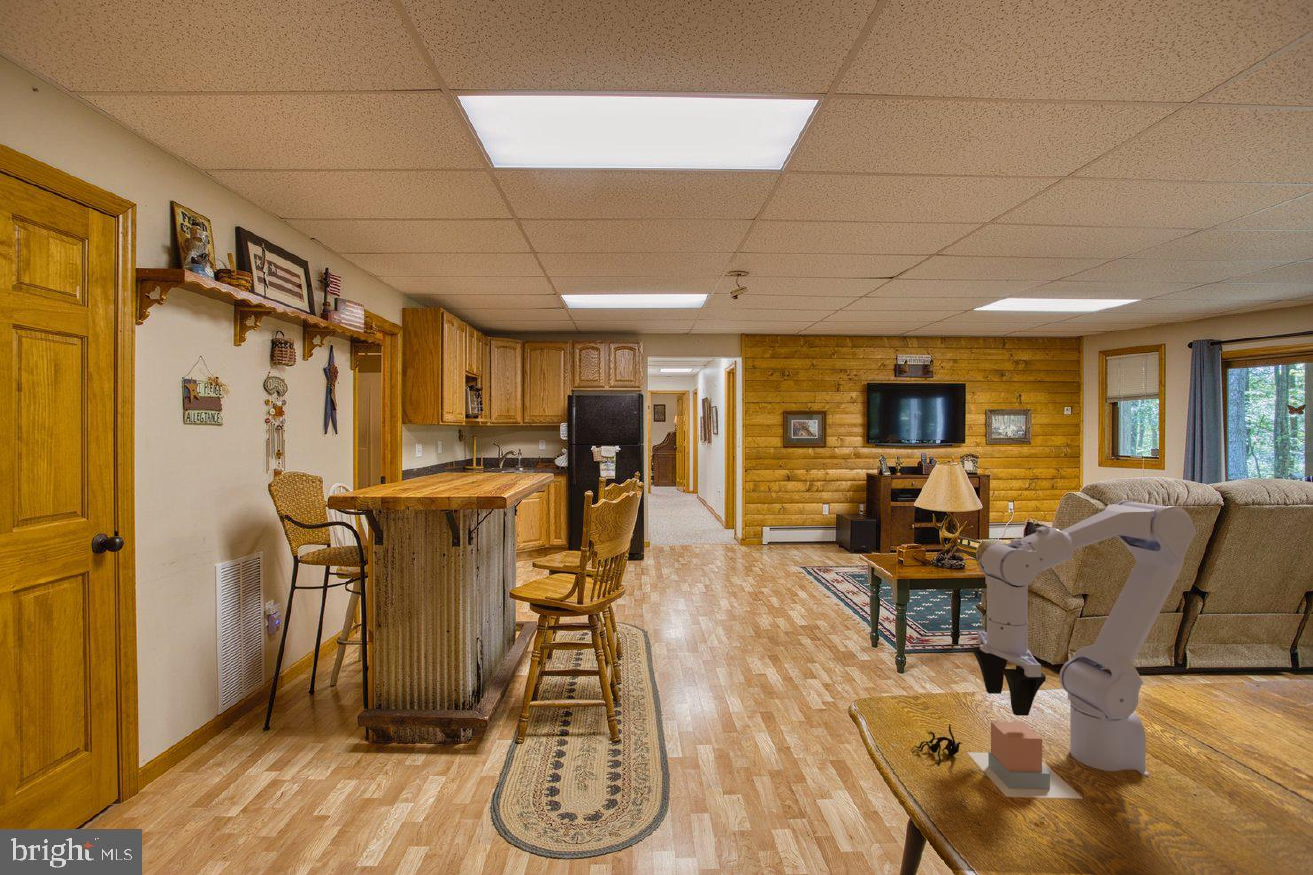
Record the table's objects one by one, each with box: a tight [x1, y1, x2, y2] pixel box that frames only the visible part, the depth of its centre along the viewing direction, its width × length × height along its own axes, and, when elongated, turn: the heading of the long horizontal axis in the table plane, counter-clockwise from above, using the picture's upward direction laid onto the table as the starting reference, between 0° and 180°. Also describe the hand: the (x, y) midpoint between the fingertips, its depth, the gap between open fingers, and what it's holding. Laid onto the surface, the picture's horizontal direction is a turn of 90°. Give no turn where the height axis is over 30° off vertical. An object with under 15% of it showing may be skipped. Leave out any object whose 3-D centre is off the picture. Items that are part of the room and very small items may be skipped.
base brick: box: [987, 750, 1050, 790], centre depth 91 cm, size 6×6×2 cm
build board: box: [966, 751, 1084, 800], centre depth 92 cm, size 11×12×1 cm
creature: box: [910, 723, 964, 767], centre depth 98 cm, size 8×5×8 cm
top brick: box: [990, 721, 1043, 772], centre depth 91 cm, size 5×5×5 cm
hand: (1006, 703), depth 96 cm, fingers open, 7 cm apart
